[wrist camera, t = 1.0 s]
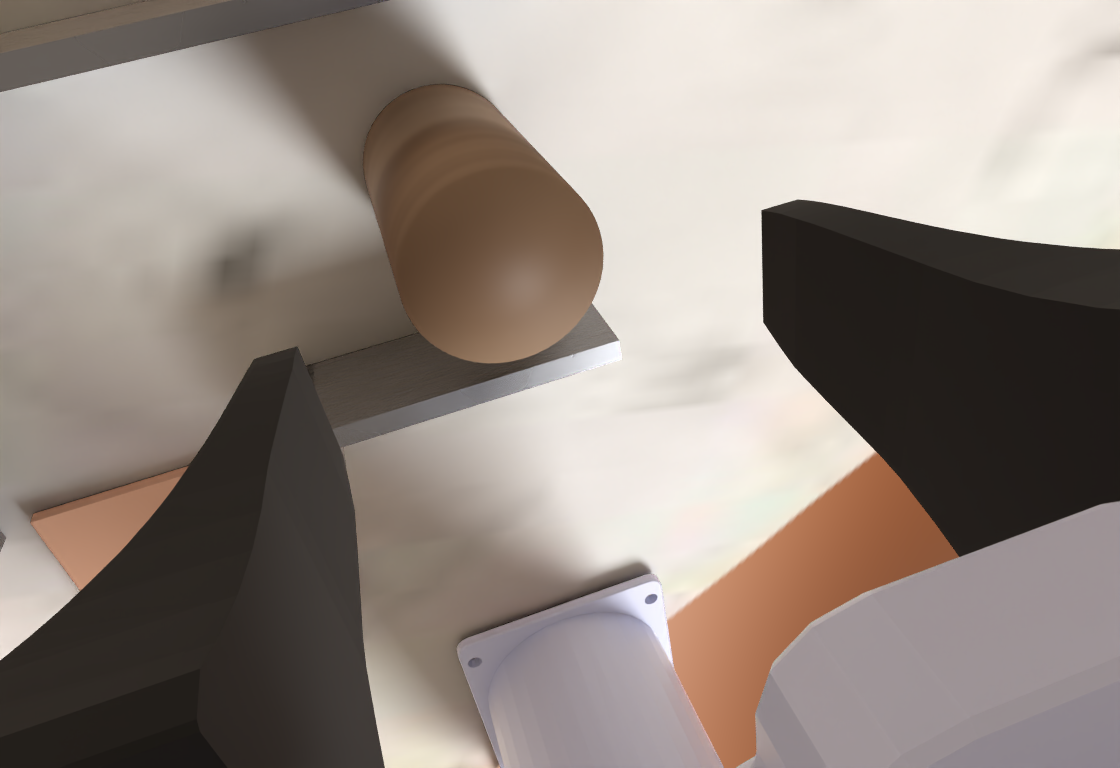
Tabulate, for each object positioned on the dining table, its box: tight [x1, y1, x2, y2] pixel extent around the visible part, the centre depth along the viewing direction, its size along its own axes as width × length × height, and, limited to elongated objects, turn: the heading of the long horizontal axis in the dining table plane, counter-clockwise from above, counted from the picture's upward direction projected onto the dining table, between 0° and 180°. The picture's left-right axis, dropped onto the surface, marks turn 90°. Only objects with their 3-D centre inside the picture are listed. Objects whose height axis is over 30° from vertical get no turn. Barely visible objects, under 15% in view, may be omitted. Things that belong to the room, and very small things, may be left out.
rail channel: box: [0, 0, 622, 552], centre depth 20 cm, size 12×18×4 cm
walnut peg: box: [363, 84, 603, 363], centre depth 19 cm, size 4×4×7 cm
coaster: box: [30, 466, 189, 591], centre depth 25 cm, size 7×7×1 cm
